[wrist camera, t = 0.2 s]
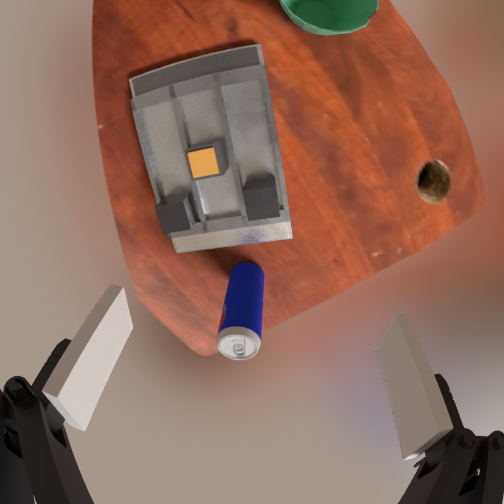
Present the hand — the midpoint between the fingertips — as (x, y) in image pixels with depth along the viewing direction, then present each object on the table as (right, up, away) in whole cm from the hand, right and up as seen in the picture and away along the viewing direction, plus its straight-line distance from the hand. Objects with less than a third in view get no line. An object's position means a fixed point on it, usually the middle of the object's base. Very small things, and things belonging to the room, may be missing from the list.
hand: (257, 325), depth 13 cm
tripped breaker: (-5, +15, +21) cm, 27 cm away
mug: (+7, +34, +11) cm, 37 cm away
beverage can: (-1, 0, +32) cm, 32 cm away
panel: (-5, +16, +22) cm, 28 cm away
